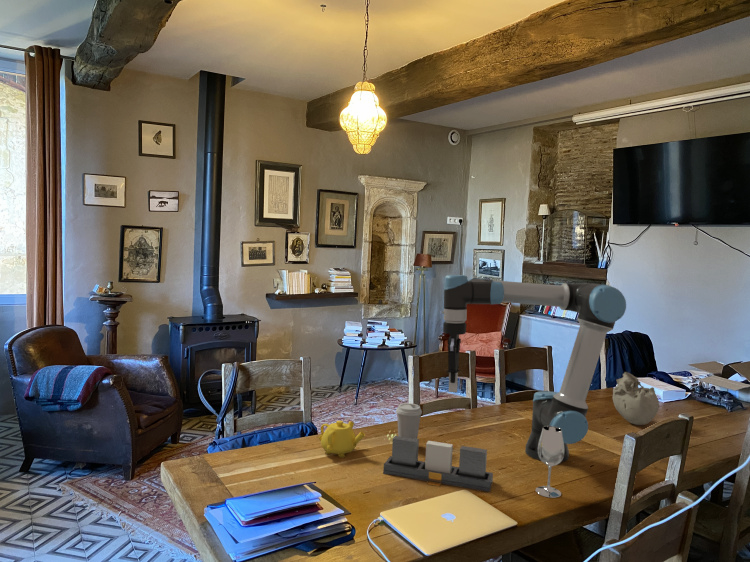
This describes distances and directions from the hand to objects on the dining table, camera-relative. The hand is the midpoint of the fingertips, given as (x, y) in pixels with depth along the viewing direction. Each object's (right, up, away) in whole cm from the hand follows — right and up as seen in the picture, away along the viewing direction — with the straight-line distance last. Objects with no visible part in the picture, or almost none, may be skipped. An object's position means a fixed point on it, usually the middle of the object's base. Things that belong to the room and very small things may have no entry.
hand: (452, 391), depth 186 cm
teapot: (-38, -24, +11) cm, 46 cm away
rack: (-6, -26, -8) cm, 28 cm away
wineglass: (+27, -28, -15) cm, 42 cm away
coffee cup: (-14, -24, +20) cm, 34 cm away
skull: (+88, -26, +59) cm, 109 cm away
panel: (-6, -25, -7) cm, 27 cm away
